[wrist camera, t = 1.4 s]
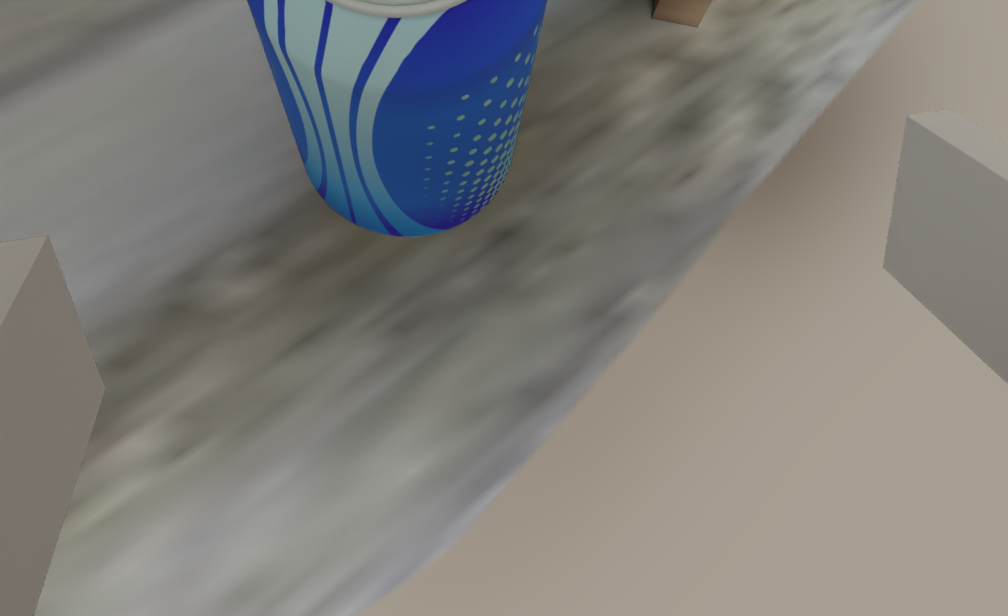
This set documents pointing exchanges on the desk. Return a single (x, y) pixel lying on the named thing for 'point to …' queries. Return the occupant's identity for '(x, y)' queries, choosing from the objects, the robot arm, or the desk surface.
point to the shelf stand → (680, 11)
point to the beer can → (403, 101)
